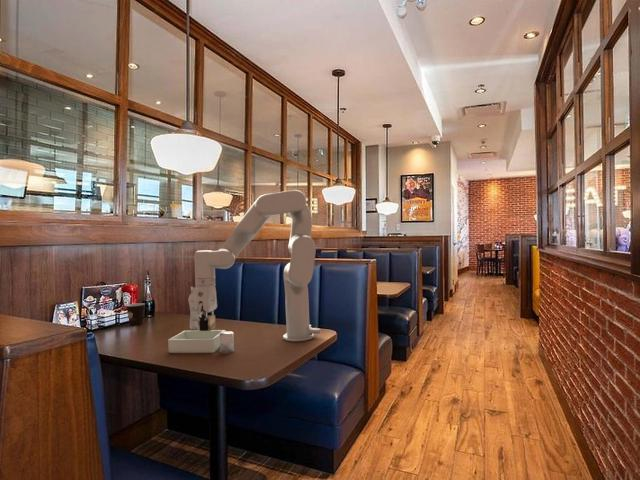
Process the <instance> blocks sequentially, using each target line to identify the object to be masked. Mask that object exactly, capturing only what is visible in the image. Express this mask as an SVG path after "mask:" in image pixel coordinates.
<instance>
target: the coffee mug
mask: <svg viewBox="0 0 640 480" xmlns="http://www.w3.org/2000/svg"><path fill="white" fill-rule="evenodd" d="M145 310H146V314H145ZM126 311H127V316H128V321H129V322H128V323H129V326H130V325H131V326H133V327H136V326H141V324H142V325H143V324H144V323H145V318H146V317H147V316H148V314H149V308H147V307H146V304H145V303H143V302H137V303H129V304H126Z"/></svg>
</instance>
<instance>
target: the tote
mask: <svg viewBox="0 0 640 480" xmlns="http://www.w3.org/2000/svg"><path fill="white" fill-rule="evenodd" d="M226 331H227V330H226V329H213V330H211V331H198V330H183V331H181V332H180V333H178V334H176V335H174V336H172V337H170V338H169V339H167V342H168V354H202V353H203V354H206V353H207V354H209V353H210V354H211V353H213V354H214V353H215V352H216V351H218V350H219V349H220V333H221V332H226Z"/></svg>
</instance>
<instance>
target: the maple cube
mask: <svg viewBox="0 0 640 480" xmlns="http://www.w3.org/2000/svg"><path fill="white" fill-rule="evenodd" d="M204 316H205V314H204ZM207 320H208V330H207V331H211V330H215V329H216V314H214V315H207ZM198 331H200V326H199V318H198Z"/></svg>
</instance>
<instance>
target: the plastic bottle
mask: <svg viewBox="0 0 640 480" xmlns="http://www.w3.org/2000/svg"><path fill="white" fill-rule="evenodd" d="M196 290H197V287H196V286H191V287H190V292H191V293H190V294H189V296H188V299H187V301H188V305H189V311H190V312H189V313H190V314H189V316H190V317H189V325H188V326H189V329H190V331H193V330H198V318H199V317H198V315H197V310H196Z"/></svg>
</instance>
